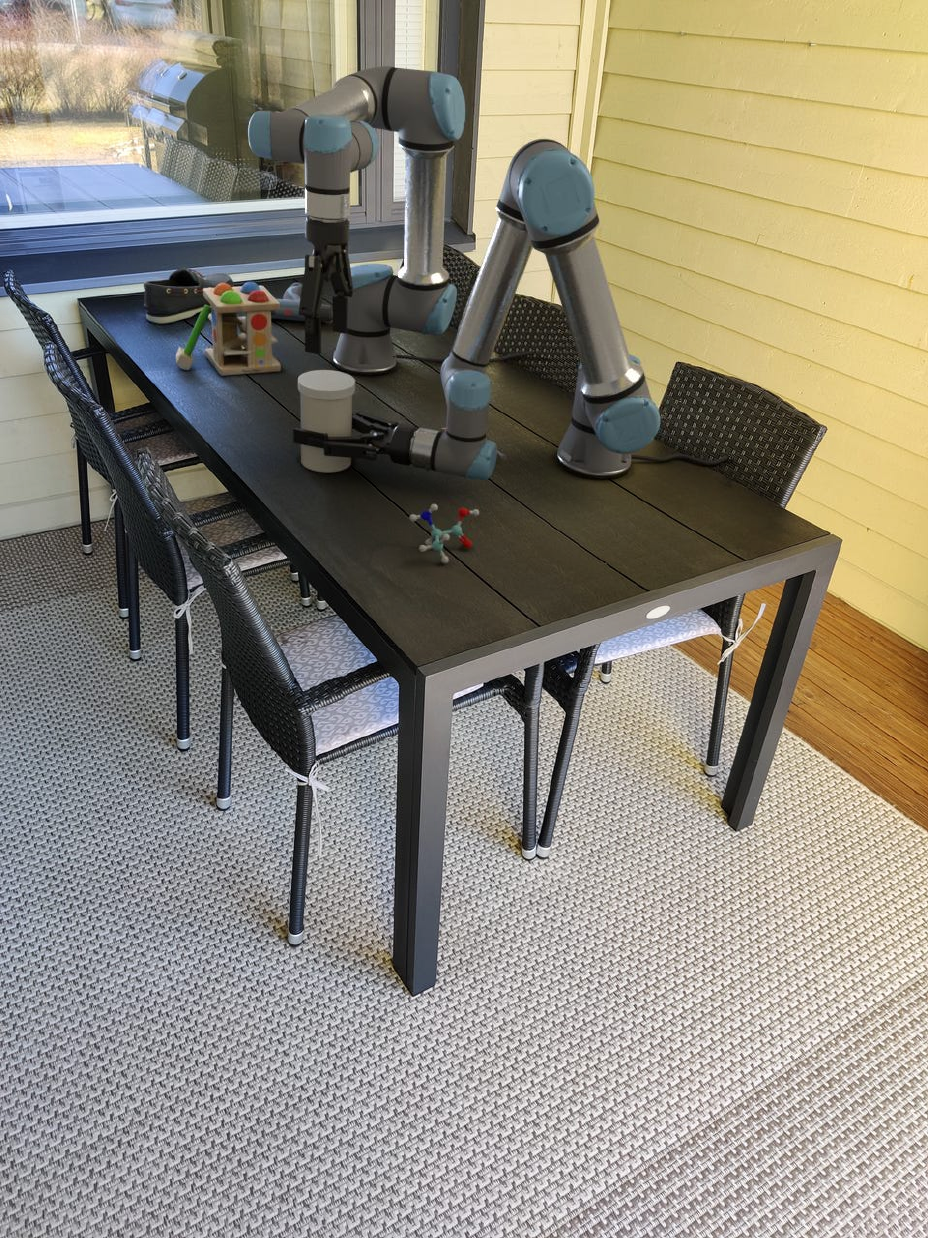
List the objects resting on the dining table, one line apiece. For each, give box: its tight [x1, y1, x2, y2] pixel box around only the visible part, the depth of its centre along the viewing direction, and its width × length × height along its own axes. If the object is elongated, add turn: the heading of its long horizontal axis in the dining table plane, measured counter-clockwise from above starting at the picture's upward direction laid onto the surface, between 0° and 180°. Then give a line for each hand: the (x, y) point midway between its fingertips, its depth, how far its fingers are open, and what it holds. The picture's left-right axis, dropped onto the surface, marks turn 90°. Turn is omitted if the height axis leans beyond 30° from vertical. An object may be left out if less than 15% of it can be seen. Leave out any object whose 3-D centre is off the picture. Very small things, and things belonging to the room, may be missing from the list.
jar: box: [299, 392, 354, 473], centre depth 188 cm, size 10×10×16 cm
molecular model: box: [408, 503, 480, 564], centre depth 166 cm, size 12×10×10 cm
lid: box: [297, 369, 356, 400], centre depth 184 cm, size 11×11×2 cm
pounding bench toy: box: [174, 281, 282, 377], centre depth 225 cm, size 23×14×18 cm, turn 116°
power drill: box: [271, 282, 332, 322], centre depth 265 cm, size 5×19×20 cm
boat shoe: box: [143, 267, 235, 324], centre depth 260 cm, size 13×33×10 cm, turn 147°
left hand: (326, 341), depth 179 cm, fingers open, 12 cm apart
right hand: (305, 425), depth 190 cm, fingers closed on jar, 10 cm apart
